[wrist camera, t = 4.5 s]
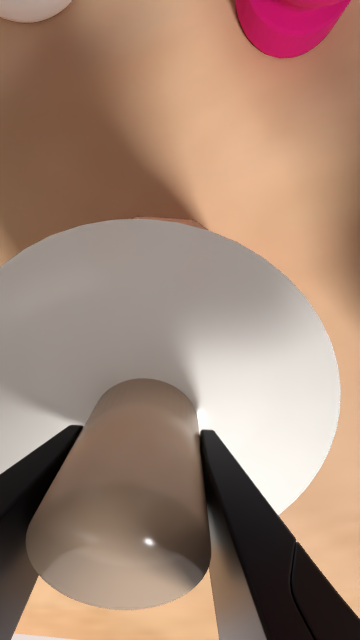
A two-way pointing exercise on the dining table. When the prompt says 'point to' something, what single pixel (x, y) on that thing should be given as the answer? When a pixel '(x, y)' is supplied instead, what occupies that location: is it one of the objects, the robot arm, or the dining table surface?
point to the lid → (154, 396)
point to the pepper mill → (288, 23)
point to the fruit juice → (31, 9)
